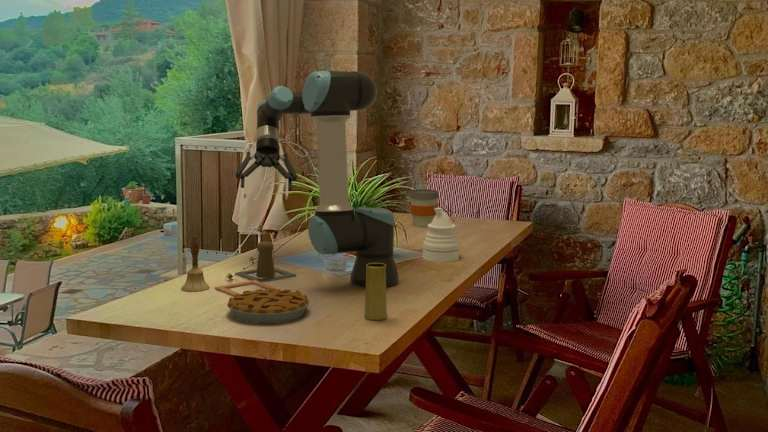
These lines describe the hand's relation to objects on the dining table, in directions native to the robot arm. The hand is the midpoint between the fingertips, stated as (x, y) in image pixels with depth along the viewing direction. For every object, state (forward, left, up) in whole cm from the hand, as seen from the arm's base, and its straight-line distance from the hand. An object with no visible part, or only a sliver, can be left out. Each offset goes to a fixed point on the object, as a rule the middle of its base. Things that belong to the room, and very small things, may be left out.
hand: (265, 197), depth 265 cm
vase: (-67, +9, -24) cm, 71 cm away
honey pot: (-26, -56, -24) cm, 66 cm away
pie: (-46, +29, -24) cm, 59 cm away
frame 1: (-22, +21, -24) cm, 38 cm away
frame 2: (-10, +7, -24) cm, 26 cm away
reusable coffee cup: (+24, -95, -24) cm, 101 cm away
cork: (-10, +7, -24) cm, 27 cm away
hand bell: (-10, +32, -24) cm, 41 cm away
